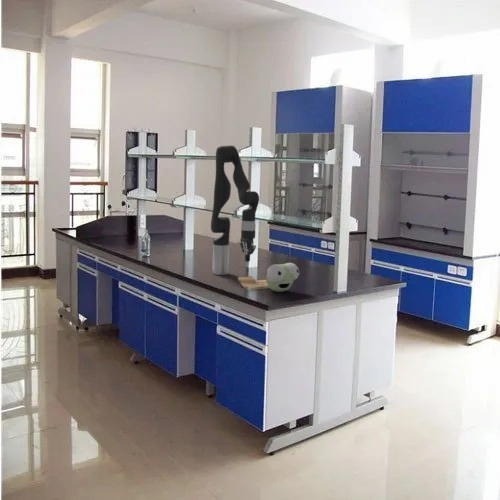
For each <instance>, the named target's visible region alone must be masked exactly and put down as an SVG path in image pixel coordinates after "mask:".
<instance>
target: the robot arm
mask: <svg viewBox="0 0 500 500" xmlns="http://www.w3.org/2000/svg"><path fill="white" fill-rule="evenodd" d="M226 163H227V164H229V163H232V164H233V166H234V167H233V169H234V170H233V172H232V173H233V175H232V179H233V183H234V185H235V187H236V189H237V195H238V201H239V202H240V204H242V205H244V206H248V207H247V208H246V209H242V212H241V215H242V216H241V225H240V226H241V228H240V233H241V234H240V238H241V239H242V242H239V245H240V248H241V252H242V253H243V254H244V262H247V263H248V262H250V261H251V255H253V254H254V251H255V250H256V248H257V246H256V245H255V244H254V239H256V229H257V228H256V227H257V226H256V213H257V210H258V206H259V203H260V195H259V194H258V192H257V191H248V190H250V188H251V185H250V182H249V180H248V177H247V176H246V174H245V171H244V168H243V164H242V162H241V158H240V155H239V152H238V150H237V148H236V146H235V145H219V146H217V148H216V150H215V176H214V177H215V179H214V188H213V189H214V190H213V206H212V212H211V213H212V214H211V220H210V221H211V222H210V230H211V232H212V233H214V234H219V233H220V234H222V235H220V236H219V237H216V238H215V239H213V240H212V270H211V271H212V272H211V273H212V274H213V275H217V276H224V275H225V276H226V275H228V274H229V261H230V260H229V258H230V256H229V255H230V234H231V233H230V231H231V219H230V217H228V216H220V213H221V212H222V211H221V210H222V209H223V208H224V207H225V205H226V204H227V203H228V201H229V200H230V197H231V192H232V191H231V190H232V184H231V182H230V180H229V178H228V176H227V174H226V172H225V164H226Z"/></svg>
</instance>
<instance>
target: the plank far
mask: <svg viewBox="0 0 500 500" xmlns="http://www.w3.org/2000/svg"><path fill="white" fill-rule="evenodd" d="M255 281H256V282H257V283H258V284H259V285H263V284H267V282H266V279H259V280H255Z"/></svg>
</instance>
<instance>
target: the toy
mask: <svg viewBox="0 0 500 500" xmlns="http://www.w3.org/2000/svg"><path fill="white" fill-rule="evenodd" d="M265 274H266V275H265V280H266V282H267V284H268V286H269V287H270V288H269V289H270V290H272V291H273V292H277V293H284V292H285V291H288V290H289V289H290V288H291V286H292V285H293V284H294V281H296V279H298V277H299V276H300V270H299V267H298V266H297V265H296V264H295V263H292V262H286V263H283V264H282V263H280V264H277V263H275V264H271V265H270V266H269V267H268V268H267V270H266V273H265Z"/></svg>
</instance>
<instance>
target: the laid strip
mask: <svg viewBox="0 0 500 500" xmlns="http://www.w3.org/2000/svg"><path fill="white" fill-rule="evenodd" d="M244 289H246V290H248V291H255V290H256V291H257V290H265V289H271V288H270V287H269V286H268V284H263V285H253V286H246V287H245V288H244Z"/></svg>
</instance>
